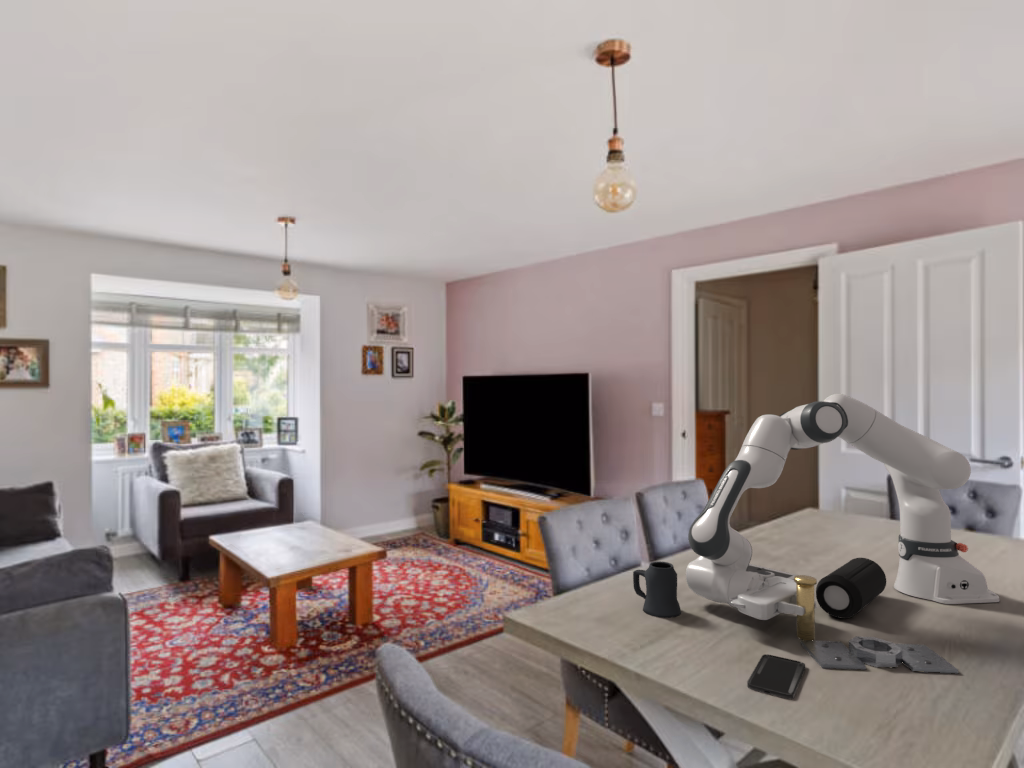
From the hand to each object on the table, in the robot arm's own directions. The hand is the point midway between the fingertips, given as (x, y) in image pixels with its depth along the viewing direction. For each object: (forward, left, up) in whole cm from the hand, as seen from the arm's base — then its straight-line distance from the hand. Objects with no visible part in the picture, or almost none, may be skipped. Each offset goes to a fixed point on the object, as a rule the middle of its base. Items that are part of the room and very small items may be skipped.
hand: (809, 608), depth 129 cm
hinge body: (-9, +8, -7) cm, 14 cm away
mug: (+31, -15, -7) cm, 35 cm away
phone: (+13, +18, -7) cm, 23 cm away
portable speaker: (-18, -21, -7) cm, 29 cm away
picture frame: (+1, -42, -7) cm, 43 cm away
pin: (+1, -1, -7) cm, 7 cm away
